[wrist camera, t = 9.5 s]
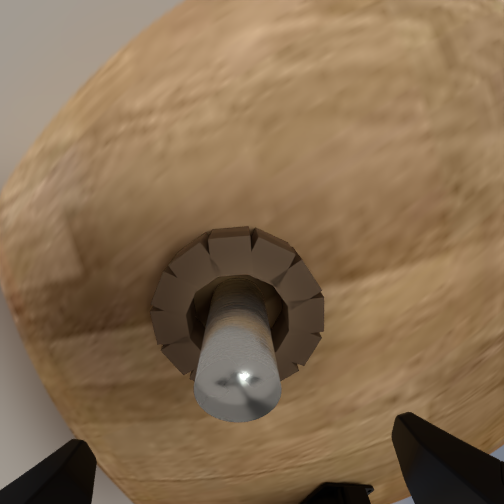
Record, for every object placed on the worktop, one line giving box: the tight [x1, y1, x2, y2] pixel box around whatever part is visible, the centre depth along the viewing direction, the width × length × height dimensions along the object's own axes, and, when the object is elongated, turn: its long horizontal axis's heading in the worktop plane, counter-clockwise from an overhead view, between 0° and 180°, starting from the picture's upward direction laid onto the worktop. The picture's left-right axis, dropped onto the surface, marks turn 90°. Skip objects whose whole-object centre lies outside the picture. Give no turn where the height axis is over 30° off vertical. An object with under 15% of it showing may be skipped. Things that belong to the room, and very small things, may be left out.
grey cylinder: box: [194, 278, 281, 422], centre depth 14 cm, size 3×3×8 cm
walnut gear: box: [150, 226, 324, 381], centre depth 16 cm, size 9×9×3 cm
